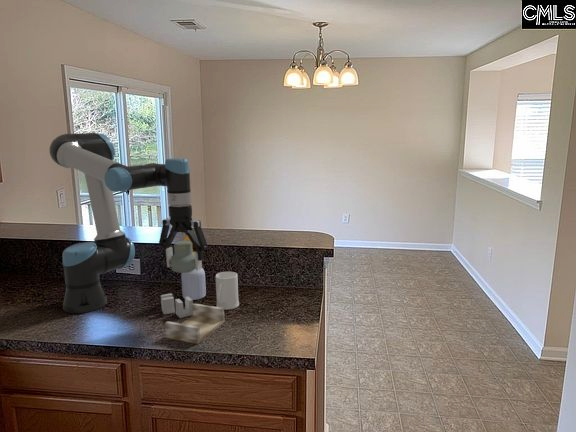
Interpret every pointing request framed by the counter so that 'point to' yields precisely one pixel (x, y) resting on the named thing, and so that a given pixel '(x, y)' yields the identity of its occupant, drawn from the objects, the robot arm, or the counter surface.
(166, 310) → the clip
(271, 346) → the counter surface
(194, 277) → the white orange spray bottle
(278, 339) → the counter surface
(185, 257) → the air freshener
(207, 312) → the end holder
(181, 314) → the clip
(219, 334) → the counter surface
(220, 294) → the mug
